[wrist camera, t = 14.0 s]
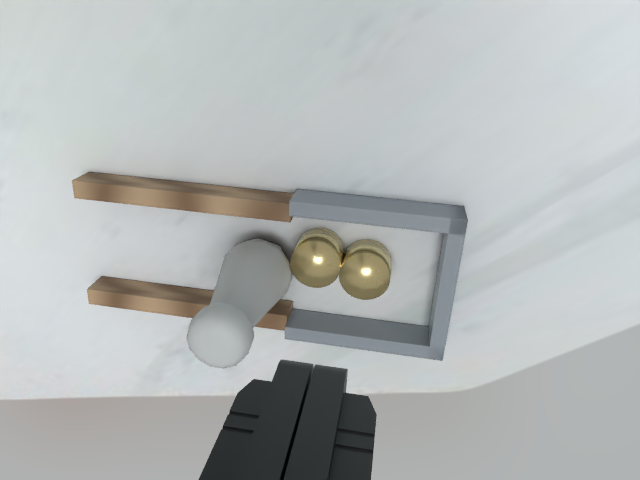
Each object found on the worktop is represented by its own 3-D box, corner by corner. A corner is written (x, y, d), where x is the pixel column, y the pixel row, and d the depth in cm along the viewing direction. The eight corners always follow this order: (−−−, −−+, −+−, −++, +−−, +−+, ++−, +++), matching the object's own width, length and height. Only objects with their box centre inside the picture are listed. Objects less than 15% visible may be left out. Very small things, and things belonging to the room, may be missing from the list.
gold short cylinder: (290, 259, 46) (282, 275, 43) (307, 219, 44) (301, 233, 42) (333, 278, 46) (328, 295, 43) (352, 239, 44) (348, 255, 42)
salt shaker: (266, 302, 48) (219, 398, 36) (218, 259, 47) (153, 344, 35) (310, 262, 46) (275, 351, 34) (261, 216, 45) (206, 291, 33)
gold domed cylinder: (335, 250, 45) (330, 265, 42) (378, 231, 44) (376, 246, 41) (356, 288, 46) (353, 306, 43) (399, 272, 45) (398, 289, 42)
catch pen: (291, 320, 48) (284, 338, 46) (297, 188, 43) (289, 201, 40) (440, 340, 47) (442, 360, 44) (464, 206, 42) (467, 220, 39)
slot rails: (103, 290, 50) (88, 303, 48) (89, 171, 46) (71, 180, 43) (292, 315, 48) (286, 330, 46) (297, 193, 43) (290, 204, 41)
